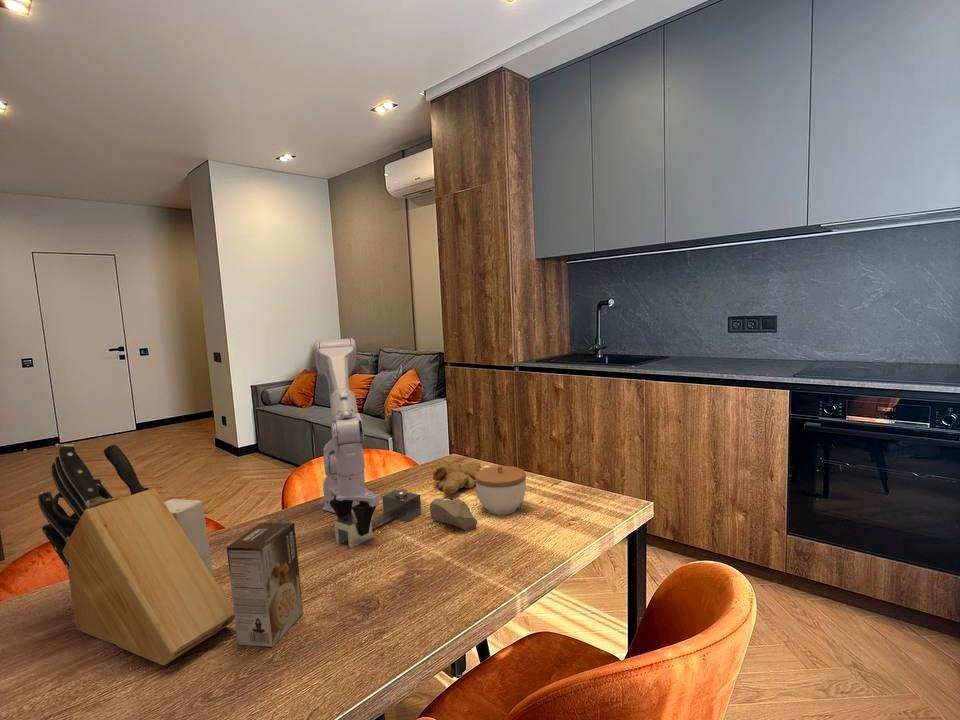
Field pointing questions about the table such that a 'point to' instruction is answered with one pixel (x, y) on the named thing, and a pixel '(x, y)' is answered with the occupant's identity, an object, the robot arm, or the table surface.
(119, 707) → the table surface
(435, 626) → the table surface
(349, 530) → the notched block with hole
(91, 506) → the knife block
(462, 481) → the ginger root
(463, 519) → the concrete fragment
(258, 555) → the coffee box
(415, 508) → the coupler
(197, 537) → the skincare box
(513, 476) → the lidded bowl
